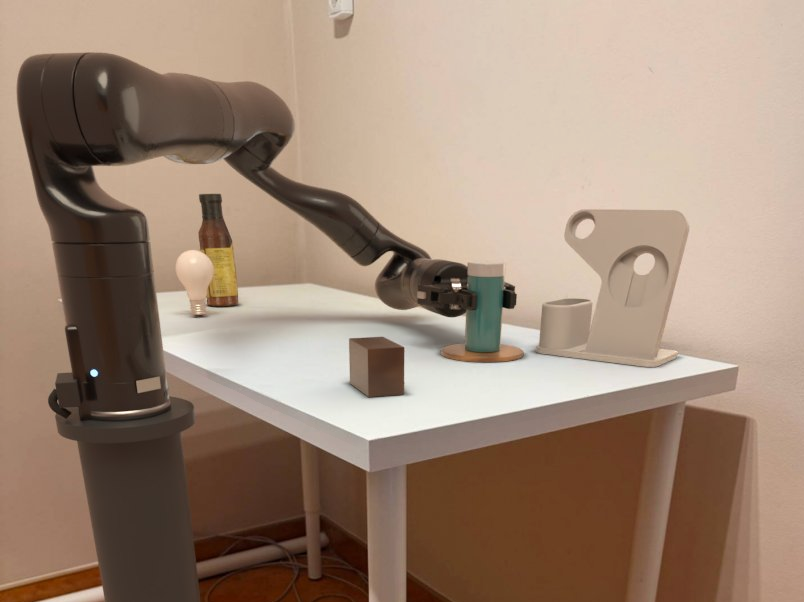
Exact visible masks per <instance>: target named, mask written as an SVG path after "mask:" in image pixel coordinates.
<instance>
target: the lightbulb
mask: <svg viewBox="0 0 804 602" xmlns="http://www.w3.org/2000/svg"><path fill="white" fill-rule="evenodd" d="M174 270H175V275H176V277H177V279H178V281H179V282H180V284H181V285H182V286H183V288H184V289H185V292H186V295H187V298H188V299H189V304H190V313H191V314H192V315H193V316H194V317H196V318H201V317H204V316H205V315H206V314H207V298H206V296H207V289H208V286H209V284H210V282H211V280H212V278H213V274H214V268H213V264H212V262H211V260H210V259H209V257H208V256H207V255H206V254H204V253H203V252H201V251H200V250H197V249H189V250H188V249H187V250H185V251H183V252H182V253H180V254H179V256H178V257H177V259H176V261H175V265H174Z"/></svg>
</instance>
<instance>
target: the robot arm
mask: <svg viewBox="0 0 804 602" xmlns="http://www.w3.org/2000/svg"><path fill="white" fill-rule="evenodd" d="M16 77H17V78H16V105H17V111H18V118H19V122H20V127H21V132H22V137H23V141H24V145H25V150H26V153H27V158H28V163H29V167H30V170H31V177H32V181H33V185H34V190H35V195H36V199H37V202H38V206H39V208H40V211H41V213H42V215H43V217H44V220H45V221H46V224H47V227H48V229H49V235H50V241H51V247H52V251H53V258H54V264H55V269H56V275H57V281H58V287H59V293H60V299H61V305H62V311H63V317H64V323H65V324H64V325H65V326H64V333H65V339H66V344H67V345H66V347H67V351H68V357H69V362H70V368H71V369H70V370H71V372H57V374H56V378H55V382H54V385H55V388H53V390H52V391H51V393H49V395H48V398H47V402H48V407H49V408H50V409H51V410H52V412H54V413H55V414H56V413H57V414H59V415H60V416H62V417H64V418H65V419H67V418H68V417H69V416H70V414H71V412H70V411H69V410H67V409H65V408H67V407H78V410H79V416H80V420H82V421H84V420H98V421H129V420H138V419H144V418H150V417H154V416H158V415H160V414H163V413H165V412H167V411H169V410H170V409H171V403H170V397H169V396H170V395H169V394H170V391H169V386H168V378H167V371H166V362H165V354H164V346H163V337H162V327H161V321H160V312H159V303H158V295H157V287H156V280H155V279H156V278H155V271H154V263H153V262H154V261H153V255H152V247H151V241H150V240H151V238H150V237H151V236H150V230H149V229H150V228H149V223H148V218H147V216H146V215H145V212H143V211H141V209H139V208H136V207H134V206H131V205H129V204H126V203H125V202H122V201H120V200H118V199H116V198H115V197H113V196H111V195H110V194H109V193H107V192H106V191H105V190H104V189H103V188H102V187H101V185H100V184H99V183H98V180H97V177H96V174H95V170H94V167H122V166H130V165H135V164H139V163H143V162H146V161H150V160H152V159H157V158H161V157H164V158H165V159H167V160H169V161H171V162H174V163H177V164H184V165H206V164H213V163H216V162H219V161H222V160H223V161H224V162H226V163H227V165H228V166H229V167H231V168H232V169H233V170H235V171H236V173H238V174H239V175H241V176H242V177H243V178H245V179H246V180H248V182H250V183H251V184H253V185H254V186H256V188H259V189H260V190H261V191H263V192H265V193H266V194H267V195H269V196H270V197H271V198H273V199H274V200H275V201H277V202H278V203H280V204H282V205H283V206H284V207H286V208H287V209H289V210H290V211H291V212H294V214H296V215H298V216H299V217H301V218H302V219H304V220H305V221H307V222H308V223H309V224H310V225H312V226H313V227H314V228H316V229H317V230H319V231H320V232H321V233H322V234H324V235H325V236H326V237H327V238H328V239H329V240H330V241H331V242H333V243H334V244H335V245H336V246H337V247H338V248H339V249H340V250H341V251H342V252H344V253H345V254H346V255H347V256H348V257H349V258H350V259H352V260H353V261H354V262H355V263H356V264H358V265H359V266H361V267H368V266H372V264H374V263H375V262H376V261H378V260H379V259H380V258H381V257H382V256H383V255H385V254H386V253H388V252H391V253H392V256H391V257H390V259H389V260H388V261H387V263H386V264H385V265H384V267H383V268H382V269H381V271H380V272H379V273H378V274H377V276H376V278H375V282H374V292H375V294H376V296H377V298H378V299H379V300H380V301H381V302H382V303H383V304H384V305H386V307H389V308H391V309H394V310H398V311H407V310H413V309H416V308H418V307H421V308H423V309H424V310H426V311H428V312H431V313H434V314H437V315H440V316H443V317H446V318H458V317H461V316H463V315H466V309H467V310H470V311H474V310H476V309H477V293H476V292H472V291H468V290H467V277H468V275H467V268H468V265H465V264H464V263H462V262H457V261H452V260H447V259H442V258H441V259H439V258H435V259H434V258H433V259H432V257H431V255H430V254H429V253H428V251H426V250H424V249H423V248H422V247H420V246H418V245H415V244H414V243H412V242H409V241H408V240H406V239H403V238H402V237H400V236H398V235H397V234H395V233H393V231H391V230H389V229H388V228H387V227H386V226H384V225H383V224H382V223H381V222H380V221H378V220H377V219H376V217H375V216H374V215H372V214H371V213H370V211H368V210H367V209H366V208H365V207H364V206H363V205H362V204H361V203H360V202H358V201H357V200H356V199H355V198H353V197H351V196H350V195H348V194H345V193H343V192H341V191H336V190H333V189H328V188H323V187H318V186H314V185H310V184H306V183H303V182H299V181H296V180H293V179H291V178H289V177H288V176H286V175H283V174H282V173H281V172H278V170H276V168H275V169H274V167H272V166H271V165H272V164H273V163H274V162H275V160H276V159H277V158H278V157H279V156H280V155H281V153H282V152H283V151H284V149H285V148H286V147H287V146H288V145H289V144H290V142H291V140H292V139H293V136H294V135H295V131H296V121H295V118H294V115H293V114H292V110H291V108H290V107H289V106H288V105H287V103H286V102H285V100H284V99H283V98H282V97H281V96H280V95H278V94H277V93H276V92H275V91H274V90H272V89H271V88H269V87H267V86H266V85H264V84H261V83H258V82H255V81H250V80H243V81H232V82H231V81H230V82H228V81H227V82H226V81H225V82H224V81H218V80H217V81H216V80H213V79H209V78H206V77H202V76H198V75H193V74H189V73H183V72H166V73H159V72H157V71H155V70H154V69H153V70H152V69H150V68H148V67H146V66H144V65H141V64H140V63H137V62H135V61H133V60H131V59H129V58H126V57H124V56H121V55H118V54H115V53H111V52H110V53H108V52H95V51H94V52H90V51H89V52H88V51H87V52H86V51H85V52H62V53H61V52H59V53H58V52H56V53H39V54H34V55H30V56H28V57H27V58H25V60H24V61H23V62H22V64H21V65H20V67H19V70H18V73H17V76H16ZM517 297H518V294H517V293H516V285H513V284H511V283H509V282H506V280H504V297H503V309H507V310H513V309H515V308H516V306H517V299H518V298H517Z"/></svg>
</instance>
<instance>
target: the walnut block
mask: <svg viewBox="0 0 804 602" xmlns="http://www.w3.org/2000/svg"><path fill="white" fill-rule="evenodd" d="M348 352H349V353H348V355H349V356H348V359H349V360H348V361H349V362H348V363H349V384H350V385H352V387H354V388H356V389H357V390H358V391H359V392H361V393H362V394H364V395H365V396H366V397H368V398H376V397H378V398H379V397H390V396H404V395H405V346H403V345H401V344H399V343H397V342H395V341H393V340H390V339H388V338H387V337H385V336H369V337H351V338H348Z"/></svg>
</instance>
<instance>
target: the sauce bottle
mask: <svg viewBox="0 0 804 602" xmlns="http://www.w3.org/2000/svg"><path fill="white" fill-rule="evenodd" d="M198 200H199V203H200V205H201V206H200V207H201V219H202V221H201V226H200V227H199V230H198V242H199V251H201V252H203V253H204V254H206V255H207V256H208V257H209V259H210V260H211V262H212V264H213V268H214V274H213V278H212V280H211V282H210V284H209V286H208V289H207V296H206V298H205V299H206V305H208V306H210V307H230V306H237V305H239V289H238V280H237V269H236V263H235V262H236V261H235V254H234V253H235V252H234V244H233V243H234V242H233V239H232V236H231V234H230V232H229V229H228V227H227V224H226V221H225V218H224V215H223V206H222V203H223V198H222V194H221V193H199V194H198Z"/></svg>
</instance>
